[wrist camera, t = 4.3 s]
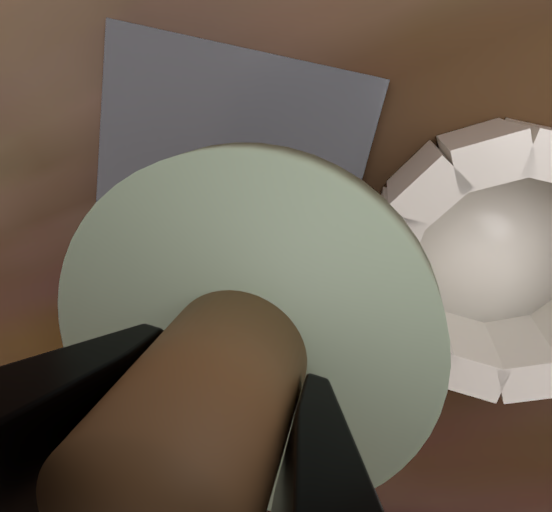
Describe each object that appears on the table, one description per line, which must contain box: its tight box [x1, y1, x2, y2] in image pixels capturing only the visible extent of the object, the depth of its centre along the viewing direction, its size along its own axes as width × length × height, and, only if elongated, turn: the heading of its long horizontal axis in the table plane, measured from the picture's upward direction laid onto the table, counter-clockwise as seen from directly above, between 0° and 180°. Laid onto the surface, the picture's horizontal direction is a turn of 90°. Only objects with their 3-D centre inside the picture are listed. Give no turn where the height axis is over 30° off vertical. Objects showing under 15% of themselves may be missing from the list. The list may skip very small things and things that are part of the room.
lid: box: [36, 142, 451, 512], centre depth 8 cm, size 8×8×5 cm
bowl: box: [381, 118, 552, 404], centre depth 17 cm, size 9×9×4 cm
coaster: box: [96, 18, 390, 202], centre depth 20 cm, size 11×11×1 cm
